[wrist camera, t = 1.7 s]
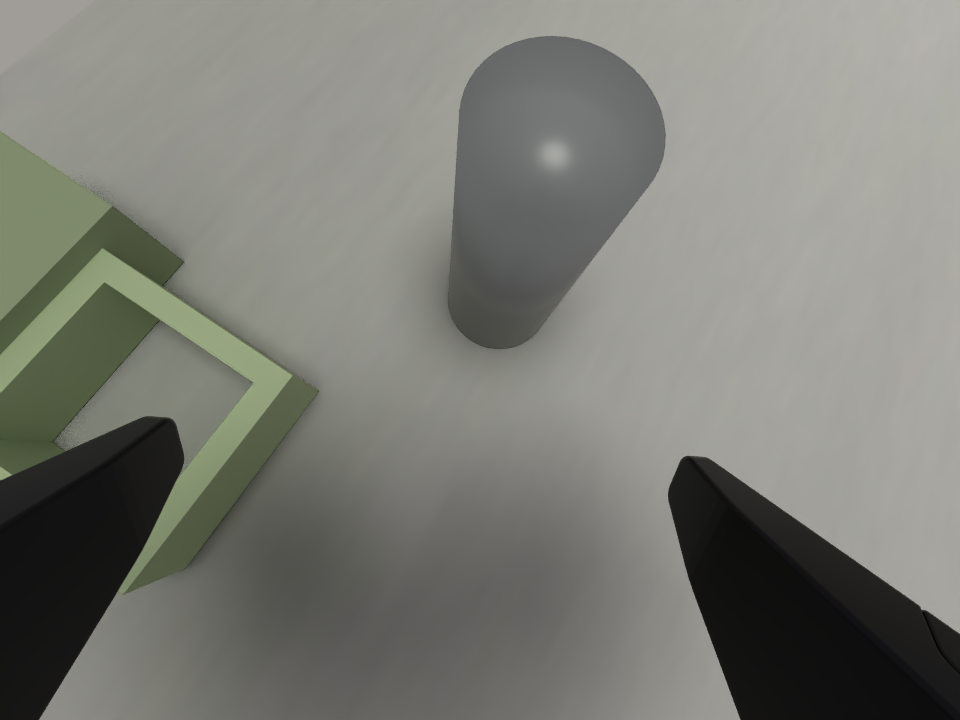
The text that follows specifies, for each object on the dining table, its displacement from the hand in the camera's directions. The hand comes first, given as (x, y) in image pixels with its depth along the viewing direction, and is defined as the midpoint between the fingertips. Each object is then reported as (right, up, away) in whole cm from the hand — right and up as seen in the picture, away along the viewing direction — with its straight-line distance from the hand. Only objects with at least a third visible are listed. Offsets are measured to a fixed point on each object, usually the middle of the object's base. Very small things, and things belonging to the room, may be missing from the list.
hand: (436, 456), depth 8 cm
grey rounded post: (+2, +5, +15) cm, 16 cm away
